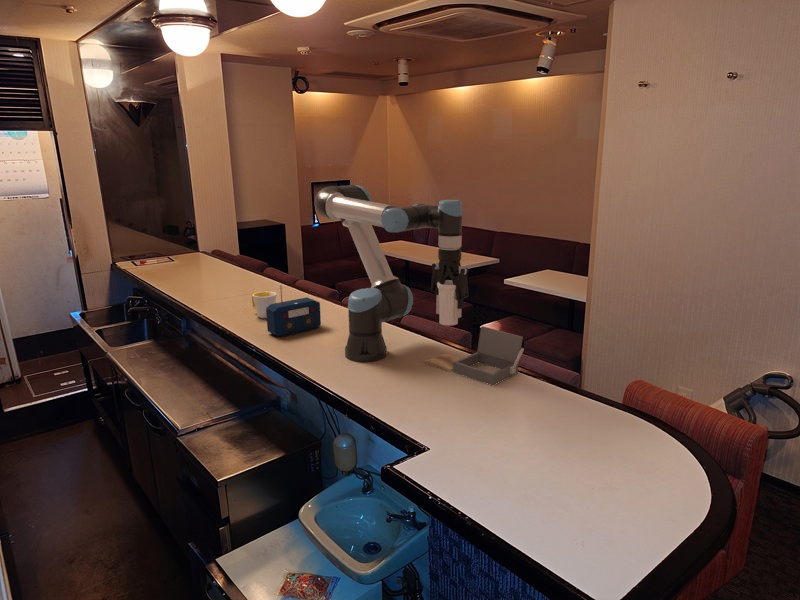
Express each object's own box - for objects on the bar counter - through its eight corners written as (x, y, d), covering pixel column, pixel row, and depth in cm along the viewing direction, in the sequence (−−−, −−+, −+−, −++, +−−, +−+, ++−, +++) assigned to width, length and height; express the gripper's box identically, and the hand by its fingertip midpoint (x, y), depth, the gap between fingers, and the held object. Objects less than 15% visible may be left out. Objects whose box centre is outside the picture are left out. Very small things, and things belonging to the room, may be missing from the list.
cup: (432, 321, 187) (433, 281, 183) (454, 319, 190) (454, 279, 186) (442, 328, 180) (443, 286, 176) (464, 325, 182) (465, 284, 179)
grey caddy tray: (496, 386, 169) (498, 349, 166) (453, 372, 180) (453, 336, 177) (523, 372, 180) (526, 337, 176) (481, 359, 191) (482, 325, 188)
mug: (281, 317, 242) (280, 294, 239) (260, 321, 236) (258, 298, 233) (267, 310, 252) (266, 288, 250) (247, 314, 246) (245, 292, 243)
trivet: (449, 371, 181) (449, 369, 181) (425, 363, 188) (425, 361, 188) (469, 362, 188) (470, 361, 188) (445, 354, 196) (445, 353, 196)
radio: (276, 339, 213) (273, 289, 208) (266, 333, 220) (263, 285, 215) (322, 328, 226) (320, 281, 221) (311, 323, 233) (309, 278, 227)
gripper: (481, 250, 174) (479, 318, 180) (434, 243, 187) (433, 307, 193) (467, 253, 168) (465, 323, 174) (419, 246, 182) (419, 311, 188)
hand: (448, 315), depth 184 cm, fingers closed on cup, 7 cm apart
